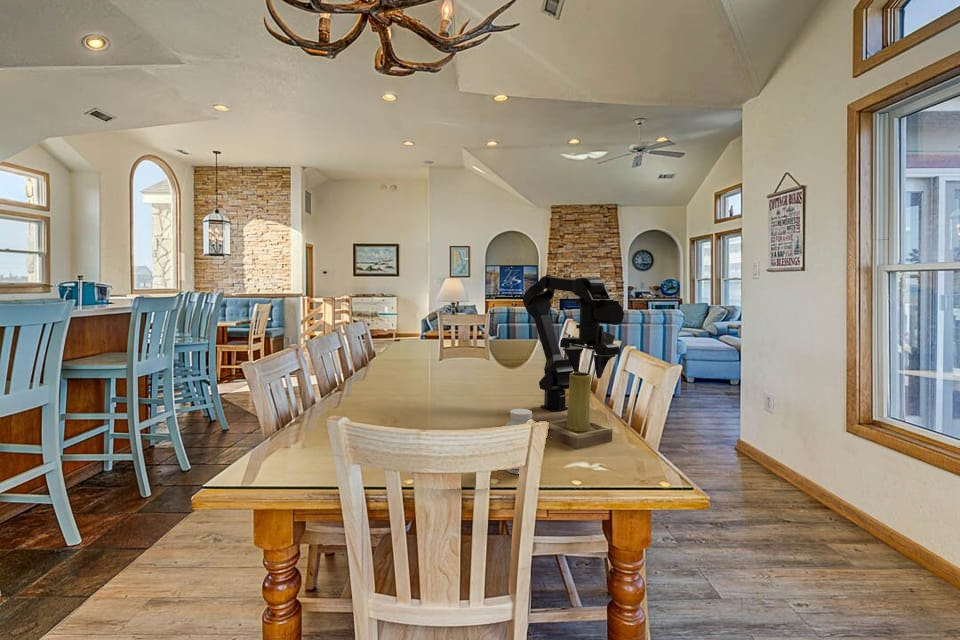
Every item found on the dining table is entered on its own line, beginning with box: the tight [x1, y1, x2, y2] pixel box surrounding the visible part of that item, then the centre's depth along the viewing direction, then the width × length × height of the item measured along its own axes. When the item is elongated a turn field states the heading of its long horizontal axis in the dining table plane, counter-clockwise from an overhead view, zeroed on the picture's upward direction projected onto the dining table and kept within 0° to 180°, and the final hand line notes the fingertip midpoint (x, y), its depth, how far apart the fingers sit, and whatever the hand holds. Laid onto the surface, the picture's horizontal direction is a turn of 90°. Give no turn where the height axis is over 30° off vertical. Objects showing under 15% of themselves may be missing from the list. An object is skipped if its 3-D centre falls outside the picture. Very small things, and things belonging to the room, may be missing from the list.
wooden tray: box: [531, 412, 613, 450], centre depth 138 cm, size 20×12×3 cm, turn 32°
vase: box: [566, 371, 592, 432], centre depth 134 cm, size 6×6×14 cm
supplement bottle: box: [505, 408, 533, 475], centre depth 112 cm, size 7×7×13 cm
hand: (587, 375), depth 151 cm, fingers open, 9 cm apart
